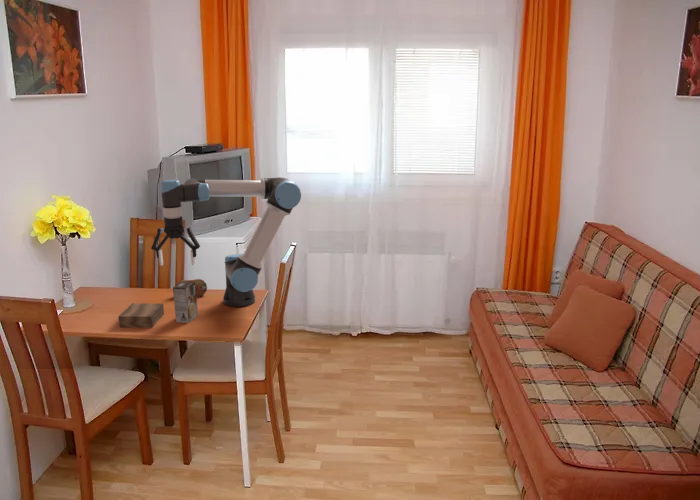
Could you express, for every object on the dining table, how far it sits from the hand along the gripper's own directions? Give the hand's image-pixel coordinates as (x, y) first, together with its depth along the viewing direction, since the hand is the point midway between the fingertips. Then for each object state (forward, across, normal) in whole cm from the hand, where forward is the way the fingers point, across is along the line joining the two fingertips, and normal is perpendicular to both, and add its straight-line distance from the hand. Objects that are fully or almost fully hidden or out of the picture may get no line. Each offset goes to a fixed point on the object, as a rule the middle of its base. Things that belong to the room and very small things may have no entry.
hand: (177, 264), depth 255 cm
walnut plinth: (+24, +17, +2) cm, 30 cm away
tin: (+25, +2, -30) cm, 39 cm away
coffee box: (+25, -2, +1) cm, 25 cm away
